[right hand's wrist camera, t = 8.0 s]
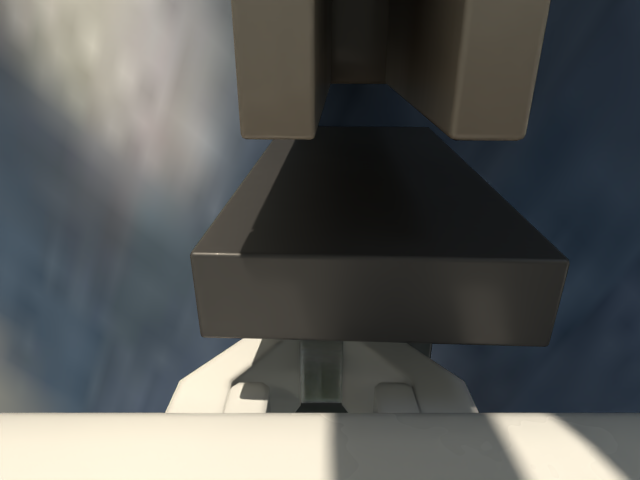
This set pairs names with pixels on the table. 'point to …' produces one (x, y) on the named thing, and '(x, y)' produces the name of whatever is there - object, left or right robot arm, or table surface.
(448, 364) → the table surface
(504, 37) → the drawer
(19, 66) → the table surface
